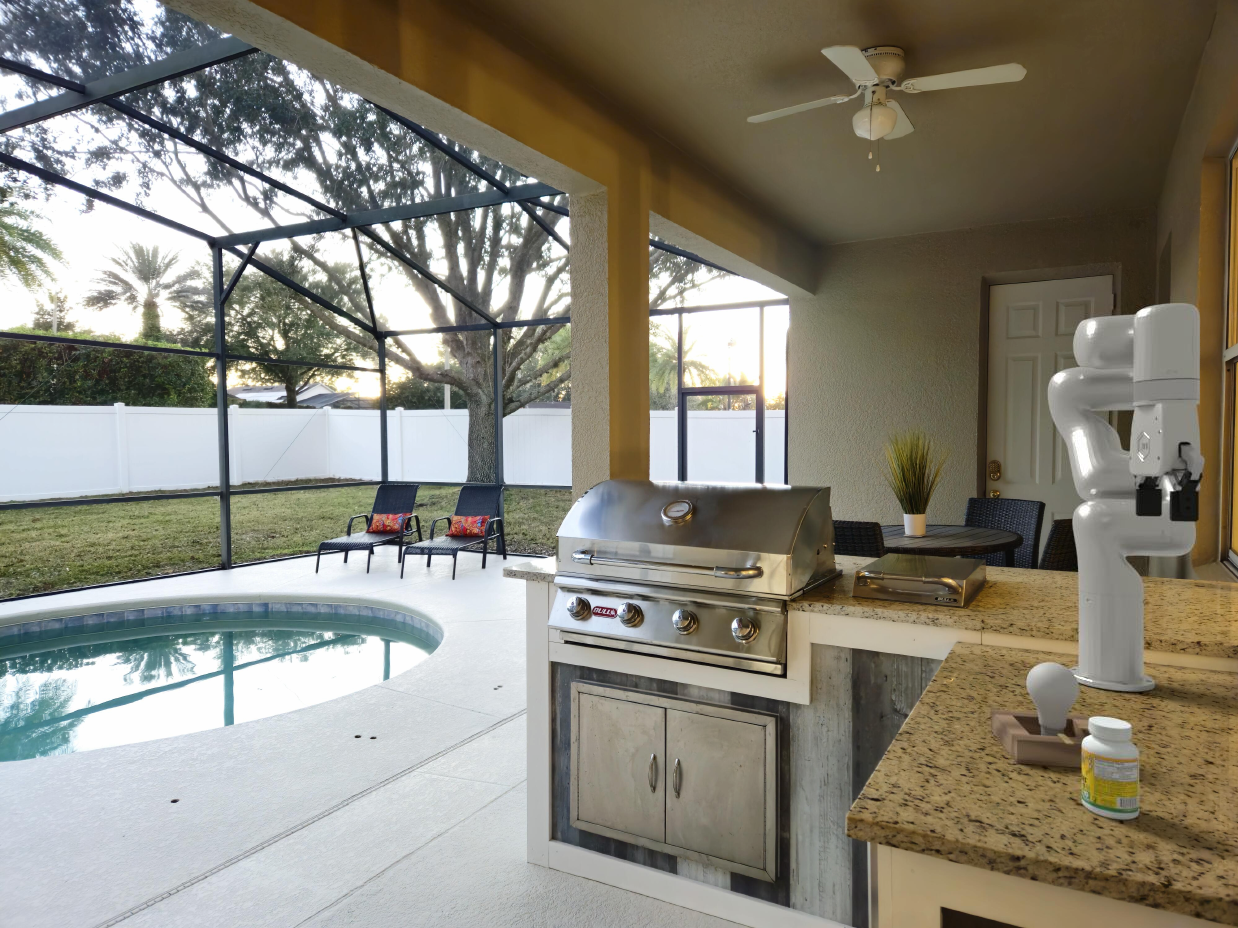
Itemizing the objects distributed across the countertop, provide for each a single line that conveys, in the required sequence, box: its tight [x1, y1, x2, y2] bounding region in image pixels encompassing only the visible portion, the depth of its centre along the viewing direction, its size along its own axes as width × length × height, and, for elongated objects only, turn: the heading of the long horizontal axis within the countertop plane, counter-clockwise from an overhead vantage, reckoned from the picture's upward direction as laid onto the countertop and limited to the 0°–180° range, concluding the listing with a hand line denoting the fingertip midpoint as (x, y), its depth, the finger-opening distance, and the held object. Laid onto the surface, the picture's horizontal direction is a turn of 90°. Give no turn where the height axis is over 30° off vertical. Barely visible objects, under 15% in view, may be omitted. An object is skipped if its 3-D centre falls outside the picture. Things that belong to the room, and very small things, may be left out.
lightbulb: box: [1025, 661, 1080, 736], centre depth 102 cm, size 6×6×11 cm
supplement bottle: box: [1081, 716, 1140, 821], centre depth 84 cm, size 5×5×10 cm
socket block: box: [990, 709, 1092, 769], centre depth 102 cm, size 12×12×3 cm
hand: (1165, 518), depth 106 cm, fingers open, 9 cm apart
